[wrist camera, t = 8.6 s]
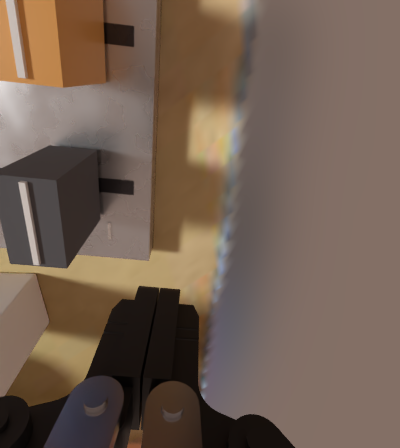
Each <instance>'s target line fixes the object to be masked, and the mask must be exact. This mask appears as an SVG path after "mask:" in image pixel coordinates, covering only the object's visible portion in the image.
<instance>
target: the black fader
mask: <svg viewBox="0 0 400 448" xmlns="http://www.w3.org/2000/svg"><path fill="white" fill-rule="evenodd" d="M100 220H101V217H100V199H99V181H98V163H97V150H91V149H81V148H71V147H62V146H52V145H49V146H47V147H45V148H43V149H41V150H38V151H36V152H34V153H32V154H30V155H28V156H26V157H24V158H22V159H20V160H18V161H15V162H13V163H11V164H9V165H7V166H5V167H3V168H1V169H0V221H1V225H2V230H3V234H4V239H5V243H6V247H7V252H8V256H9V261H10V264H20V265H32V266H44V267H55V268H68V266H69V265H70V263H71V262H72V260H73V259H74V258H75V256H76V255H77V253H78V252H79V250H80V249H81V247H82V246H83V244H84V243H85V241H86V240H87V239H88V237H89V236H90V234H91V233H92V231H93V230H94V228H95V227H96V225H97V224H98V222H99V221H100Z"/></svg>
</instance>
